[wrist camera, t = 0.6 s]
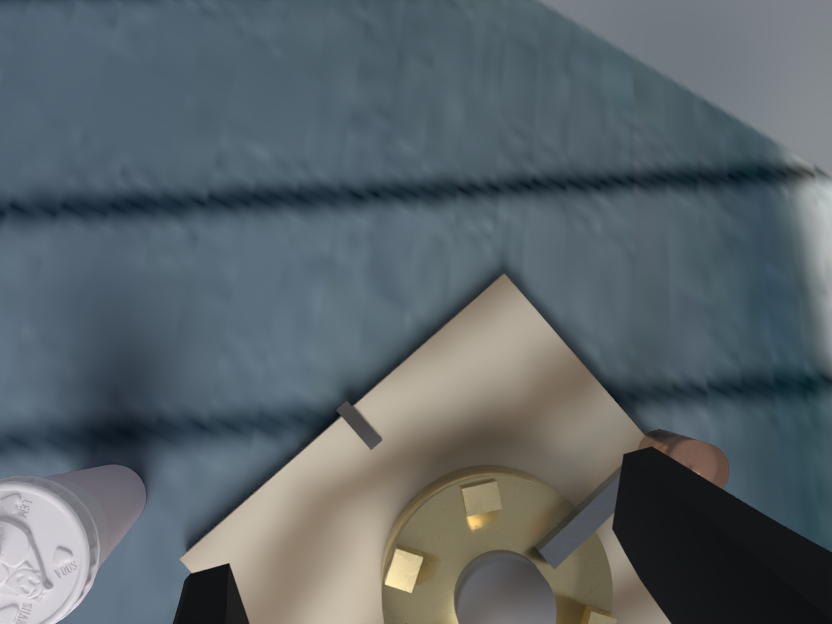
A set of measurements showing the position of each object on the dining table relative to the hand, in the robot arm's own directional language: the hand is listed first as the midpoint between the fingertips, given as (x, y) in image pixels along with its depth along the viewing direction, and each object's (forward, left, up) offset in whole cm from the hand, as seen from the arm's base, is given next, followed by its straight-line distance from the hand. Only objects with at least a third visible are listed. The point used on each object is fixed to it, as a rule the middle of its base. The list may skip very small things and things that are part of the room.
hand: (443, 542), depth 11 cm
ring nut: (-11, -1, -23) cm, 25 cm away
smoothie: (+6, +15, -24) cm, 29 cm away
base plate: (-11, +2, -24) cm, 26 cm away
